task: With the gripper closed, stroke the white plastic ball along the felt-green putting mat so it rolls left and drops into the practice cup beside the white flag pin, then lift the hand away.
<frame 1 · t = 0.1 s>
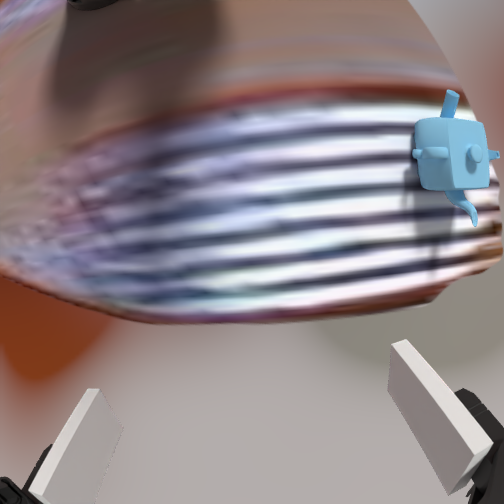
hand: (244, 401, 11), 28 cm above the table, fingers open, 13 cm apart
teapot: (436, 156, 36), on the table
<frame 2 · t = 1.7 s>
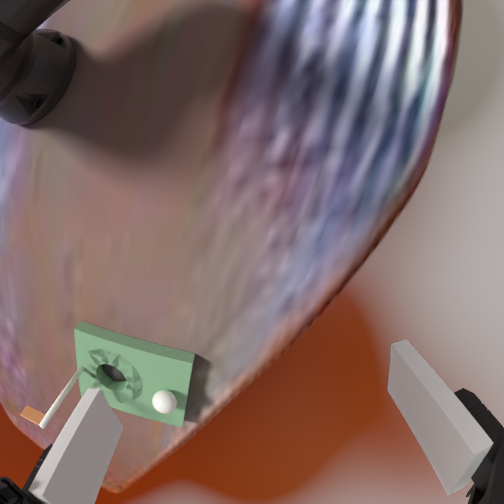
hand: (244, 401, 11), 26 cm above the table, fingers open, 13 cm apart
green: (133, 374, 41), on the table
ball: (164, 401, 37), point 4 cm above the table, touching green
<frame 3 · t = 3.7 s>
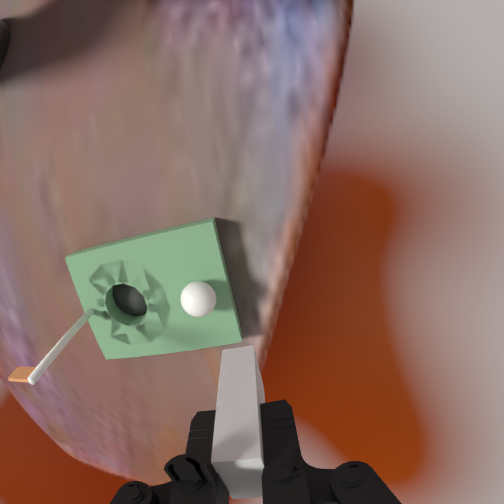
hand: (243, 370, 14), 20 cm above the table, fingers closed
green: (154, 292, 33), on the table
ball: (198, 299, 29), point 4 cm above the table, touching green
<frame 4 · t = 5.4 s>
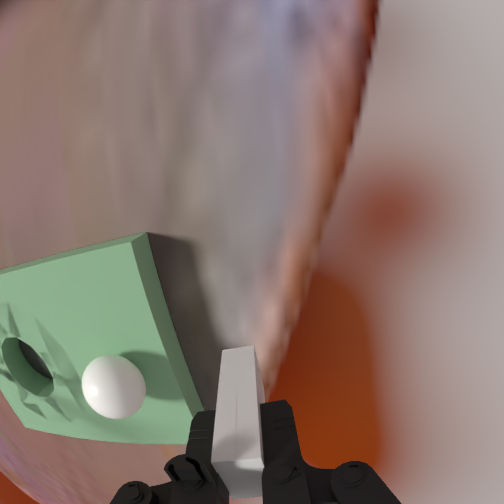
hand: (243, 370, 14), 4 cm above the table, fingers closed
green: (68, 351, 18), on the table
ball: (113, 387, 13), point 4 cm above the table, touching green
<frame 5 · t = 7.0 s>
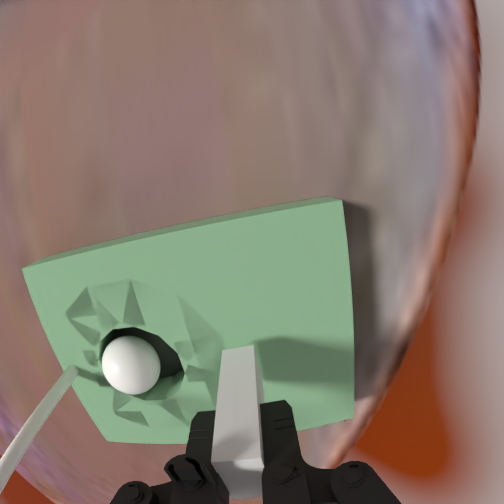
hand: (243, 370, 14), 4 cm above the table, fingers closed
green: (194, 339, 17), on the table
ball: (130, 365, 16), point 2 cm above the table, tilted 29°
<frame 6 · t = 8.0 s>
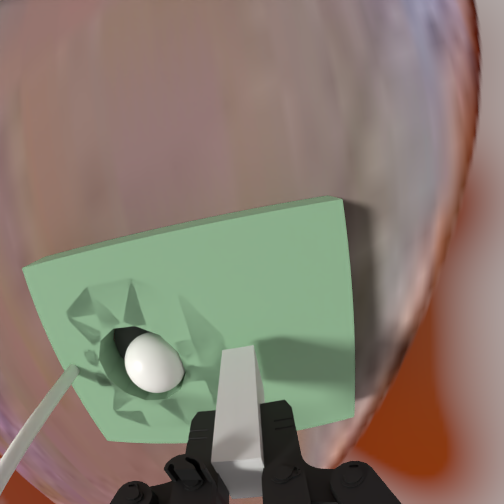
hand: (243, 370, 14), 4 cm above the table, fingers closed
green: (195, 339, 17), on the table
ball: (155, 362, 16), point 2 cm above the table, tilted 77°, touching green
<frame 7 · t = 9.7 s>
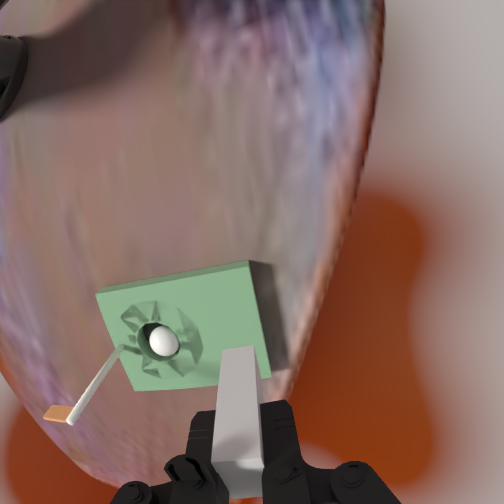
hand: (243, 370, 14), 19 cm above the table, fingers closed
green: (186, 329, 34), on the table
ball: (164, 340, 32), point 2 cm above the table, tilted 73°, touching green
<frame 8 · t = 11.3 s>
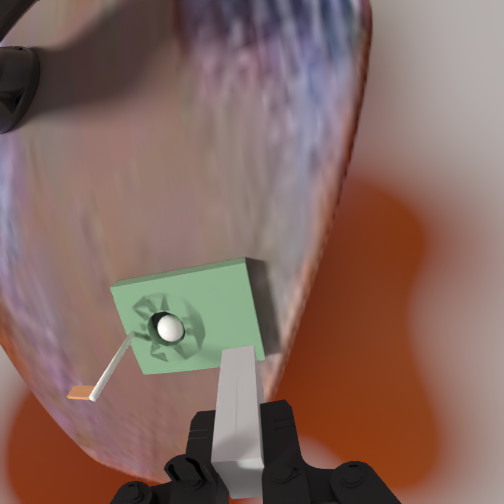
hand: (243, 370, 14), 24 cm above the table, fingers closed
green: (190, 318, 39), on the table
ball: (170, 328, 38), point 2 cm above the table, tilted 70°, touching green
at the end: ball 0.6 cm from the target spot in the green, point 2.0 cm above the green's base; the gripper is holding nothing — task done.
